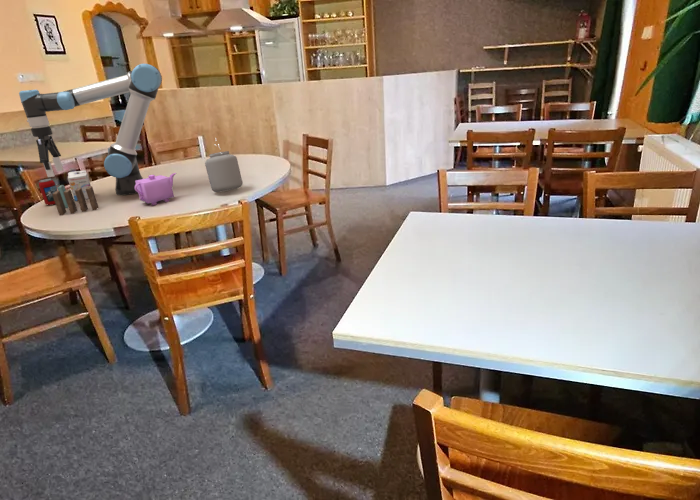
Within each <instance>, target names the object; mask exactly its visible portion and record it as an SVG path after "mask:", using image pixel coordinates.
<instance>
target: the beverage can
mask: <svg viewBox="0 0 700 500" xmlns="http://www.w3.org/2000/svg"><path fill="white" fill-rule="evenodd" d="M38 187H39V190H40V192H41V196H42V198H43V201H44V204H45V205H47V206H56V204H55V201H54V198H53V195H52V194H53V193H54V192H55V191H58V189H57V188H58V187H57V186H56V183H55V181H54V180H53V179H52V178H45V179H40V180H38Z"/></svg>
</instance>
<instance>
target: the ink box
mask: <svg viewBox="0 0 700 500" xmlns="http://www.w3.org/2000/svg"><path fill="white" fill-rule="evenodd" d="M67 175H68V176H67V181H68V183H69V187H70V189H71V192H72V195H73V198H74V201H75V202H78V199H77V196H76V193H75V190H76V189H77V188H82V191H83V194H84V197H85V200H89V198H88V195H87V192H86V188H87V187H90V186H92V185H91V181H90V178H89V175H88V172H87V171H86V170H77V171H70V172H68V173H67Z"/></svg>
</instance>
